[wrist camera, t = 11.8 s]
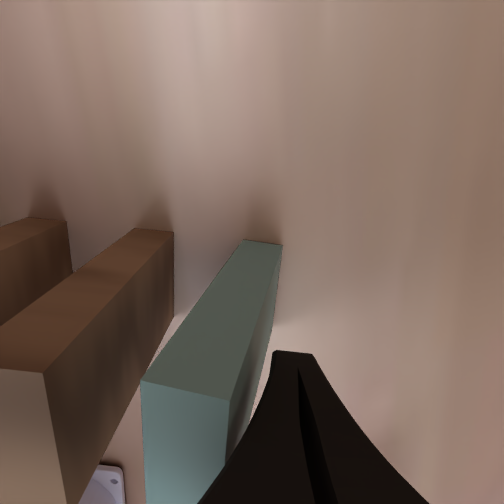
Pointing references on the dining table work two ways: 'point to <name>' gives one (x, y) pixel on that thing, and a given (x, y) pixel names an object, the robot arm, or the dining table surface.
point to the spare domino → (208, 378)
